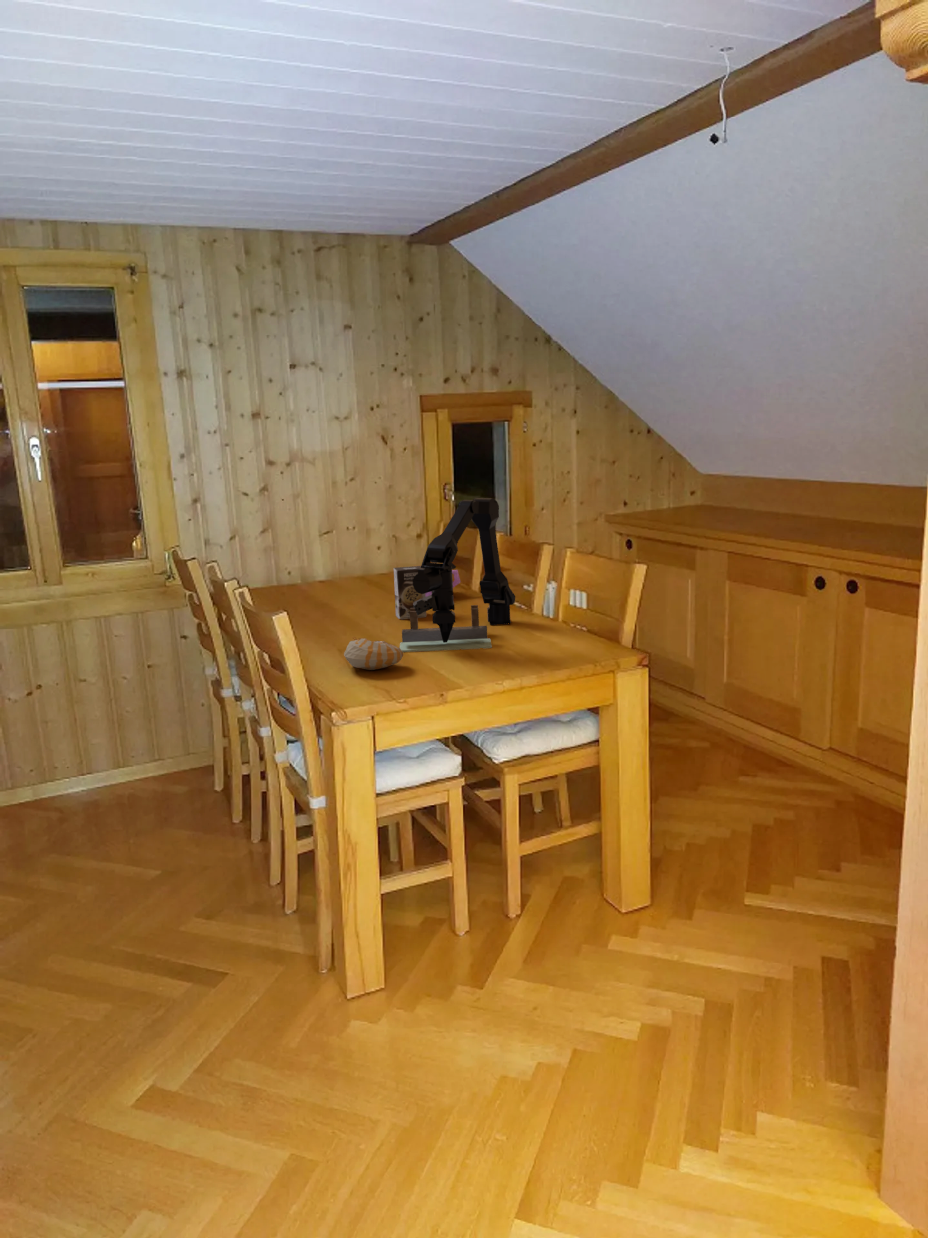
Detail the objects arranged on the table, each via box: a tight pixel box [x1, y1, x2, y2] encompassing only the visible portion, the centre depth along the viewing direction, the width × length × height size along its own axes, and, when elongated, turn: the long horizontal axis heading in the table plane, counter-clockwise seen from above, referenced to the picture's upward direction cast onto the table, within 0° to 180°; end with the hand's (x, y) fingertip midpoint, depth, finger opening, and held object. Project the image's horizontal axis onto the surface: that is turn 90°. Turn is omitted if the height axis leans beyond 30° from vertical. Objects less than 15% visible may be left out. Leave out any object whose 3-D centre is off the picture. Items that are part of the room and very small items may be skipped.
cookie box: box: [393, 565, 427, 620], centre depth 302 cm, size 9×6×16 cm
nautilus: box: [343, 637, 404, 671], centre depth 249 cm, size 8×22×15 cm
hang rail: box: [401, 625, 488, 642], centre depth 265 cm, size 24×3×3 cm, turn 91°
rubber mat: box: [398, 637, 493, 653], centre depth 266 cm, size 26×9×1 cm, turn 91°
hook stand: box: [409, 604, 480, 629], centre depth 275 cm, size 22×8×8 cm, turn 91°
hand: (445, 640), depth 265 cm, fingers closed on hang rail, 3 cm apart
